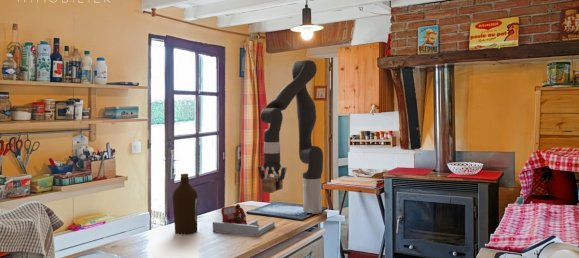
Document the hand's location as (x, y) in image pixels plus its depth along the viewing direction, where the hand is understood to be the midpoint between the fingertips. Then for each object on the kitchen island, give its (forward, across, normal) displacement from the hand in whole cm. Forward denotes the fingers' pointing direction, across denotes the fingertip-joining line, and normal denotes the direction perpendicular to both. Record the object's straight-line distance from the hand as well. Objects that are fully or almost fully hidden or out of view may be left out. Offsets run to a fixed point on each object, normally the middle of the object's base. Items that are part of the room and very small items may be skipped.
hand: (272, 188), depth 211 cm
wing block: (+1, 0, 0) cm, 1 cm away
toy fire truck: (+16, +11, +15) cm, 25 cm away
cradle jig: (+16, +7, +14) cm, 22 cm away
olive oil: (+16, +28, +27) cm, 42 cm away
